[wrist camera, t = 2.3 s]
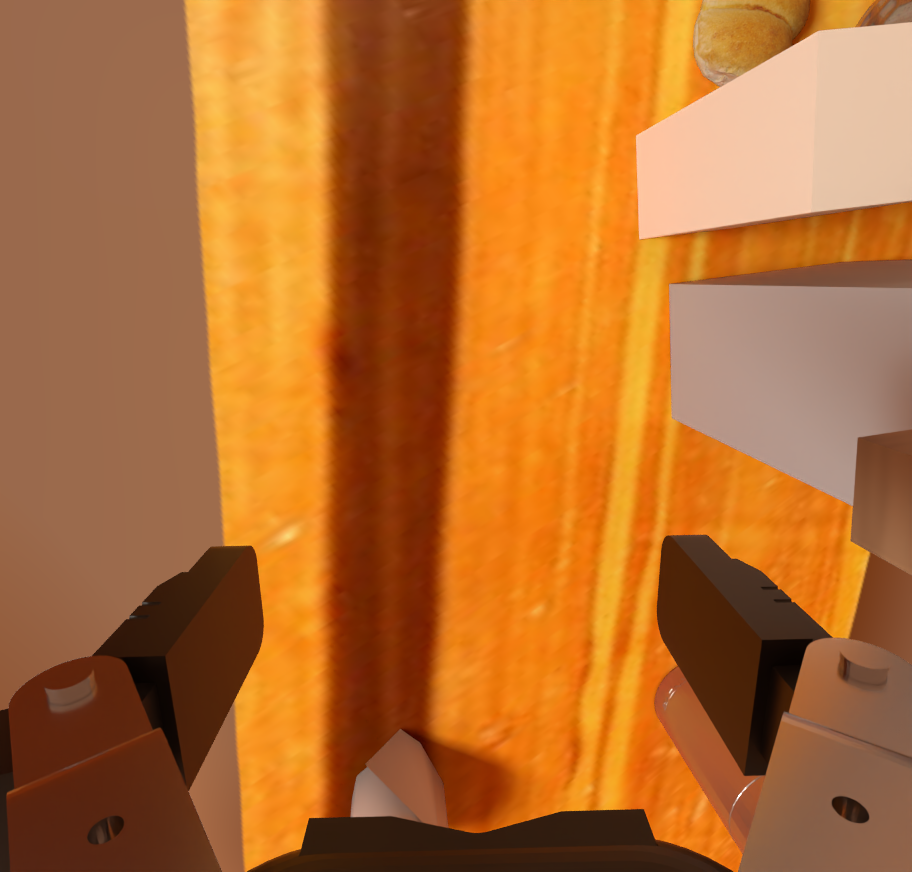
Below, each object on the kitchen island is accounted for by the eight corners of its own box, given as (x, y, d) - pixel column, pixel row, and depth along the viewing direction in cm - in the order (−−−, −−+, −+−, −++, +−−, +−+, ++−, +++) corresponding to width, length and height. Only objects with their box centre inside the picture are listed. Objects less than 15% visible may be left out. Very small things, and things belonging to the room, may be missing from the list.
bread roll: (809, -9, 47) (847, -35, 43) (759, 109, 49) (792, 94, 45) (719, -56, 45) (751, -87, 41) (672, 67, 47) (698, 48, 43)
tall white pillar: (842, 262, 52) (1488, 238, 22) (835, 394, 56) (1389, 536, 25) (669, 284, 51) (1095, 291, 20) (672, 418, 54) (1043, 598, 24)
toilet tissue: (402, 712, 59) (405, 782, 51) (455, 805, 63) (466, 884, 55) (320, 749, 59) (309, 825, 51) (378, 840, 63) (377, 925, 55)
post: (730, 125, 48) (976, 16, 28) (729, 228, 51) (957, 194, 30) (635, 135, 48) (818, 30, 28) (639, 239, 50) (811, 212, 30)
